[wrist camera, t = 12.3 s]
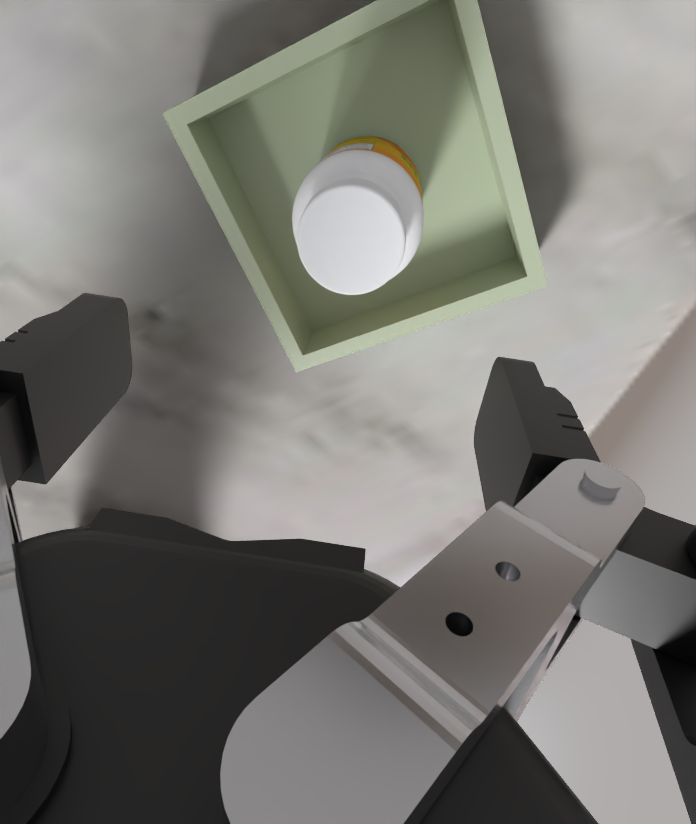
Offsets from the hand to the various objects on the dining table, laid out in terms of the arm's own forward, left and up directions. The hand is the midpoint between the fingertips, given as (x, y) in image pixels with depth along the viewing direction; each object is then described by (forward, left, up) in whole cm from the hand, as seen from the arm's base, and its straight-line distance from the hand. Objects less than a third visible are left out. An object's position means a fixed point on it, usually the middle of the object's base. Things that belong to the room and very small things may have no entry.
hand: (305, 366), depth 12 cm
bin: (0, 0, -20) cm, 20 cm away
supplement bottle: (0, 0, -19) cm, 19 cm away
